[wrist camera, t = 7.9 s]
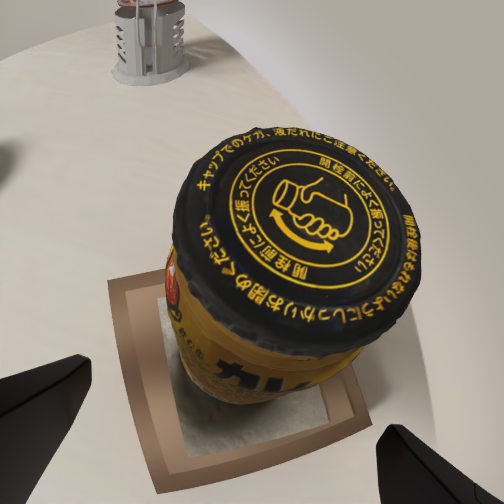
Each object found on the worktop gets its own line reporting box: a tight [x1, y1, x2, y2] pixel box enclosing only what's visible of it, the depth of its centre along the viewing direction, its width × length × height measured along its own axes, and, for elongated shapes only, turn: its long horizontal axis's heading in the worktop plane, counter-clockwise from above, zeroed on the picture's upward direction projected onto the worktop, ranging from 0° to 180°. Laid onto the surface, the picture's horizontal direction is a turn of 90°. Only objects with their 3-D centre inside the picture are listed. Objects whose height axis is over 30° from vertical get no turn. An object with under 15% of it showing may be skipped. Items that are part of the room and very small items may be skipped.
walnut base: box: [107, 269, 372, 494], centre depth 17 cm, size 12×12×3 cm
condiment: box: [157, 127, 421, 458], centre depth 11 cm, size 7×8×12 cm
